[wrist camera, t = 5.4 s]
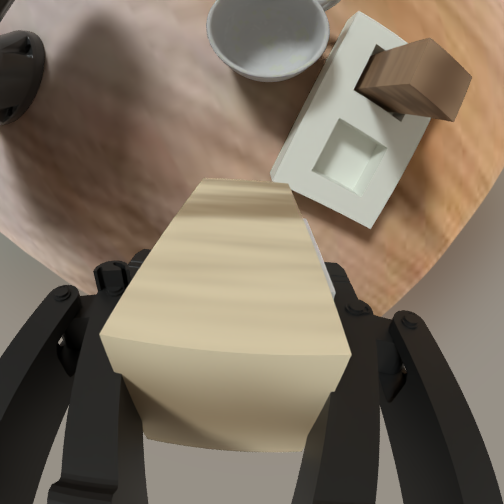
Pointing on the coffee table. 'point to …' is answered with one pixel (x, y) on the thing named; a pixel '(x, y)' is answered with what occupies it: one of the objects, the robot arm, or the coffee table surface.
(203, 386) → the pin
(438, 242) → the coffee table surface
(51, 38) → the coffee table surface
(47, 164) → the coffee table surface
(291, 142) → the bore block
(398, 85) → the walnut pin
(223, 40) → the teacup
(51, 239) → the coffee table surface
